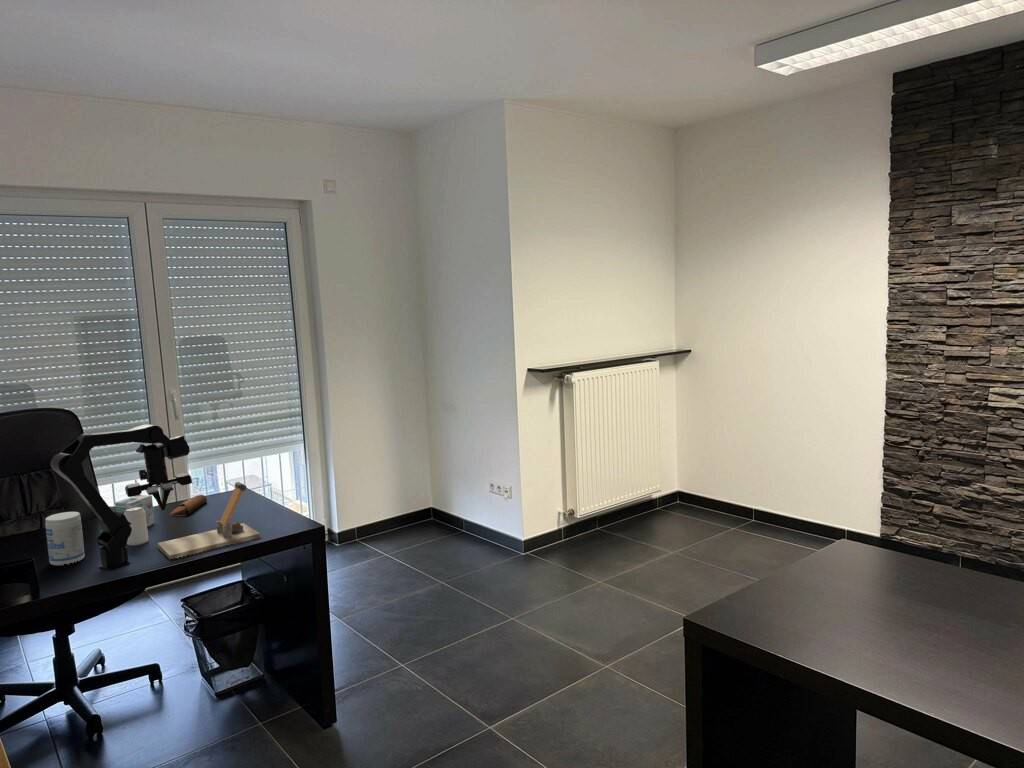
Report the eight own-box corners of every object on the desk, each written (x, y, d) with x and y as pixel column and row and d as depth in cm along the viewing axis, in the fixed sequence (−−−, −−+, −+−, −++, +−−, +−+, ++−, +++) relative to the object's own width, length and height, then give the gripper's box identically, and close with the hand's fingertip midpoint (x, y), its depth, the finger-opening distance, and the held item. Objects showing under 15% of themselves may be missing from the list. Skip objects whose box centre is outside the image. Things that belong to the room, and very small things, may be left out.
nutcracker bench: (170, 560, 222) (168, 543, 221) (157, 547, 234) (155, 531, 234) (260, 537, 239) (258, 521, 238) (243, 527, 252) (242, 512, 251)
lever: (223, 525, 236) (242, 484, 239) (217, 521, 241) (236, 481, 244) (229, 527, 237) (247, 486, 240) (223, 523, 242) (241, 482, 245)
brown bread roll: (185, 503, 286) (193, 489, 285) (202, 511, 287) (209, 497, 286) (166, 517, 268) (173, 501, 268) (183, 525, 269) (191, 510, 268)
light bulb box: (131, 533, 251) (128, 503, 250) (117, 531, 253) (113, 502, 252) (155, 523, 261) (152, 494, 260) (141, 522, 263) (138, 494, 262)
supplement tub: (43, 567, 221) (37, 521, 219) (60, 556, 230) (55, 512, 228) (75, 565, 221) (69, 519, 219) (91, 554, 231) (86, 510, 229)
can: (132, 547, 236) (128, 512, 234) (123, 544, 239) (119, 509, 238) (152, 541, 241) (148, 507, 239) (143, 538, 245) (139, 504, 243)
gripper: (181, 453, 239) (188, 497, 242) (119, 465, 229) (127, 511, 231) (188, 458, 230) (196, 505, 233) (124, 471, 220) (132, 520, 222)
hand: (163, 510), depth 230 cm, fingers closed
